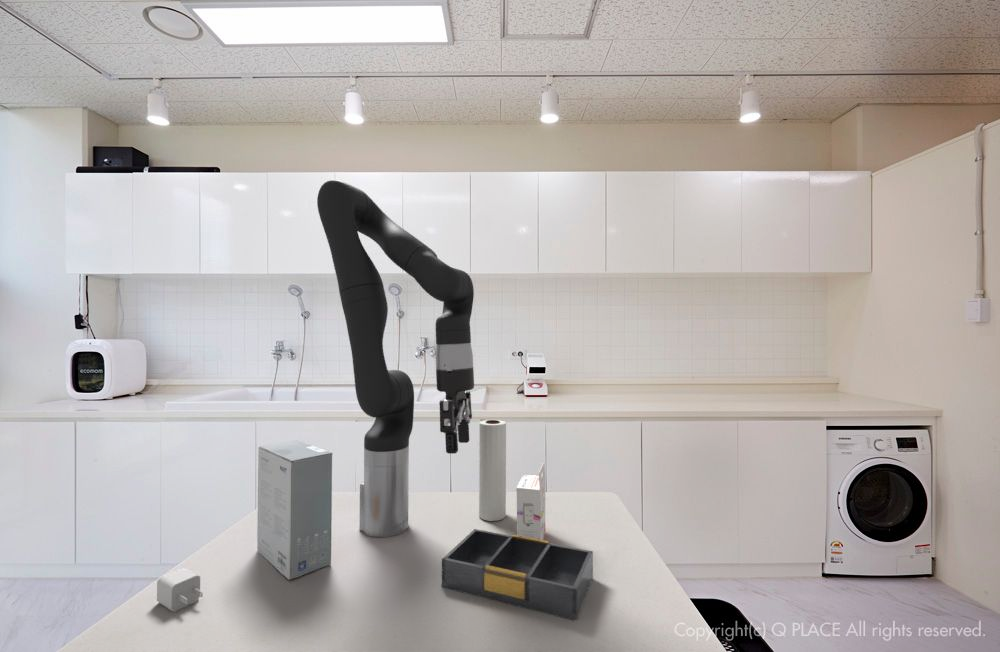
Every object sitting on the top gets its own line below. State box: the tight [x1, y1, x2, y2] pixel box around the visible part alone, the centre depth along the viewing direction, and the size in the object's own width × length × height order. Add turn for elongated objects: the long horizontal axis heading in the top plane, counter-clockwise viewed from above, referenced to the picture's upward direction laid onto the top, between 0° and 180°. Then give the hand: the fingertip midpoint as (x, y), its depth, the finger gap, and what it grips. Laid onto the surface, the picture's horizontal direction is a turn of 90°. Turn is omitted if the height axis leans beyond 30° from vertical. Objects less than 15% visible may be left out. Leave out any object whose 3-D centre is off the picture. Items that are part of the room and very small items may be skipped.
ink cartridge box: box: [516, 461, 546, 540], centre depth 90 cm, size 9×5×15 cm, turn 168°
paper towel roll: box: [478, 418, 507, 522], centre depth 102 cm, size 7×6×21 cm
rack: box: [441, 528, 594, 621], centre depth 75 cm, size 22×13×5 cm, turn 67°
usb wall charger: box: [156, 567, 204, 612], centre depth 69 cm, size 4×7×4 cm, turn 60°
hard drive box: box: [256, 439, 333, 581], centre depth 83 cm, size 16×8×20 cm, turn 47°
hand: (458, 447), depth 90 cm, fingers open, 8 cm apart
